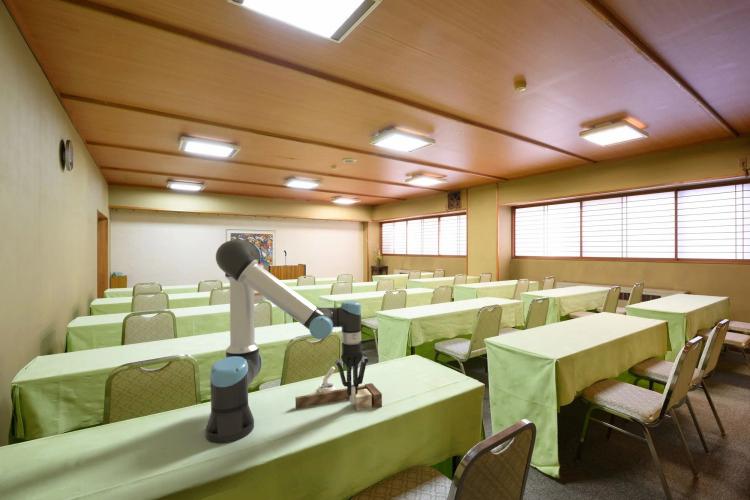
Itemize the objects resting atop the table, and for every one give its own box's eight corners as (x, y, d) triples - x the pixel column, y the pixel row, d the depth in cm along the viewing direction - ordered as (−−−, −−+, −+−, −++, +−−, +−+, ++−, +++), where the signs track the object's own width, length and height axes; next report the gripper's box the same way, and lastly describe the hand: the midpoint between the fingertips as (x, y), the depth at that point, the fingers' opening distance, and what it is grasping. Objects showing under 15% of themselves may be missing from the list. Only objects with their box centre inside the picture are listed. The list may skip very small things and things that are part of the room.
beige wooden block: (357, 410, 129) (356, 397, 129) (352, 403, 135) (352, 391, 135) (371, 407, 131) (371, 394, 131) (366, 400, 137) (366, 388, 137)
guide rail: (300, 422, 120) (300, 408, 120) (295, 407, 132) (295, 394, 132) (384, 406, 132) (384, 393, 132) (372, 393, 144) (372, 381, 143)
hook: (347, 379, 146) (334, 372, 143) (330, 401, 146) (317, 395, 144) (343, 369, 153) (331, 363, 150) (328, 391, 153) (315, 384, 151)
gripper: (337, 346, 125) (338, 410, 126) (370, 342, 130) (371, 403, 131) (332, 341, 132) (333, 401, 133) (364, 337, 137) (365, 395, 138)
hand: (352, 402), depth 132 cm, fingers closed
